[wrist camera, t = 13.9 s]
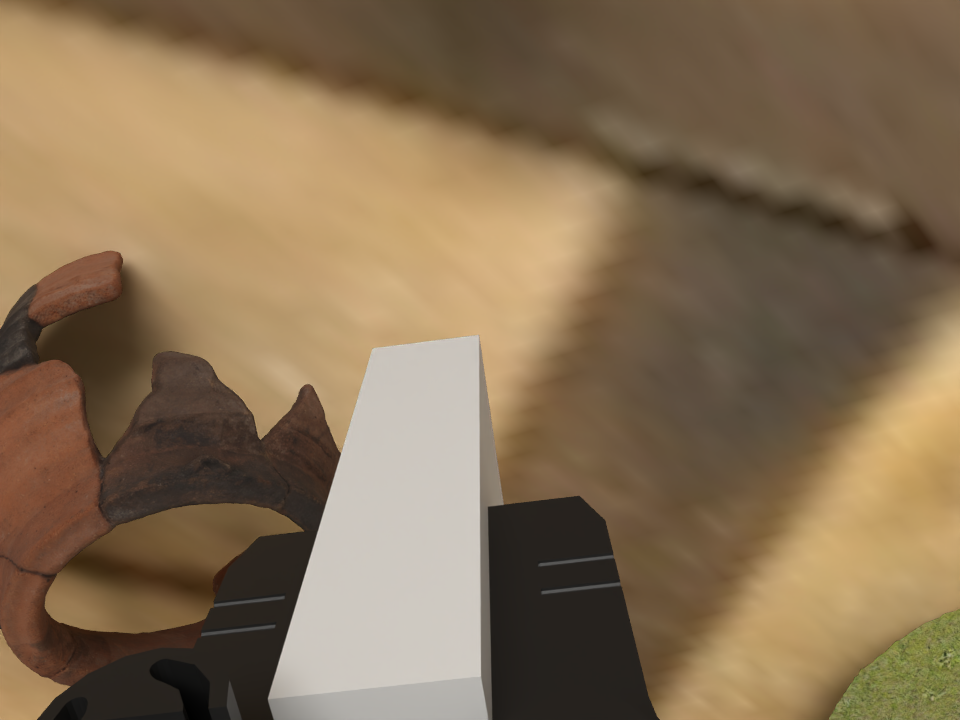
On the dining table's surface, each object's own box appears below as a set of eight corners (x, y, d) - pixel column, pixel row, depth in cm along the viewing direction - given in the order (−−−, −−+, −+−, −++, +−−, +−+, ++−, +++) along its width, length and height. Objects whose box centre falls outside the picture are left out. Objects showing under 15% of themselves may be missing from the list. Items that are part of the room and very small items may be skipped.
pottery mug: (196, 157, 21) (259, 371, 15) (357, 386, 28) (442, 593, 22) (-246, 394, 21) (-347, 701, 15) (26, 568, 28) (27, 825, 22)
